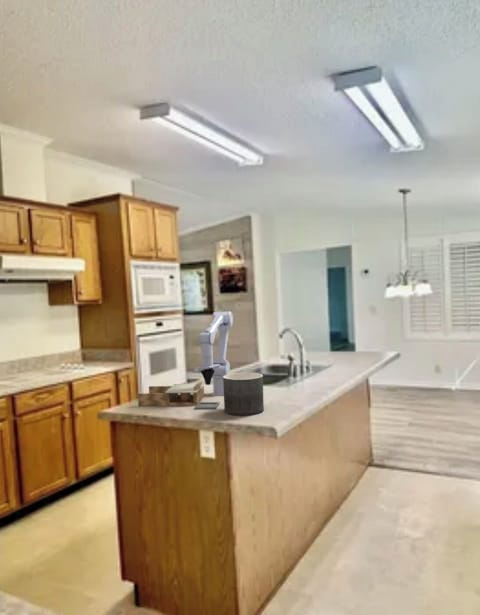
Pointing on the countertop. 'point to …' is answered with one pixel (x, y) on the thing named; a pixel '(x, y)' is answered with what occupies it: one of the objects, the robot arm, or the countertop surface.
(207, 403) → the tray
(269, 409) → the countertop surface
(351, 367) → the countertop surface
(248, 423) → the countertop surface
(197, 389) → the lid
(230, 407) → the planter
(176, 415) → the countertop surface
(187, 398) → the pot
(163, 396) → the cold frame
